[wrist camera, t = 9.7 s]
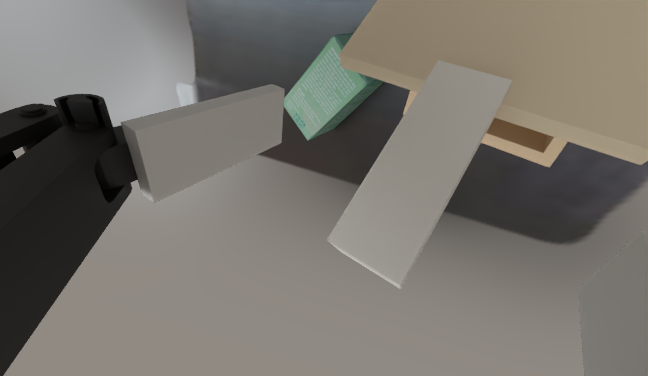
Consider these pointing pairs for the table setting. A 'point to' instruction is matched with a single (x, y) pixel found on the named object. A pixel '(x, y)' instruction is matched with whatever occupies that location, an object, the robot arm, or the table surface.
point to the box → (327, 91)
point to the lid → (486, 101)
